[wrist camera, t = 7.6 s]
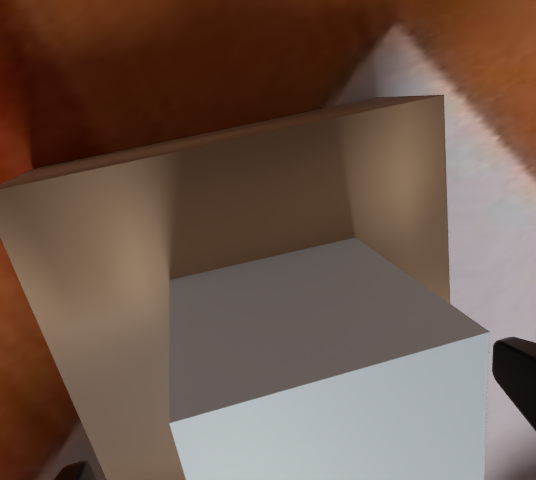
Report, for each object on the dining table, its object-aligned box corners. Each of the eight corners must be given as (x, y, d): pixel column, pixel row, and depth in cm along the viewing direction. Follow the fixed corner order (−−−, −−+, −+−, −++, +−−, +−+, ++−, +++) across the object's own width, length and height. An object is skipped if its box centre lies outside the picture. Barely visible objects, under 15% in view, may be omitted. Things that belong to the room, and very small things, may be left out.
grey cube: (355, 237, 11) (489, 331, 6) (367, 387, 13) (481, 548, 8) (169, 280, 10) (169, 422, 6) (208, 434, 12) (233, 642, 7)
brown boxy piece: (394, 360, 18) (453, 426, 14) (141, 440, 16) (132, 539, 13) (371, 97, 14) (444, 94, 10) (36, 167, 12) (-19, 193, 9)
